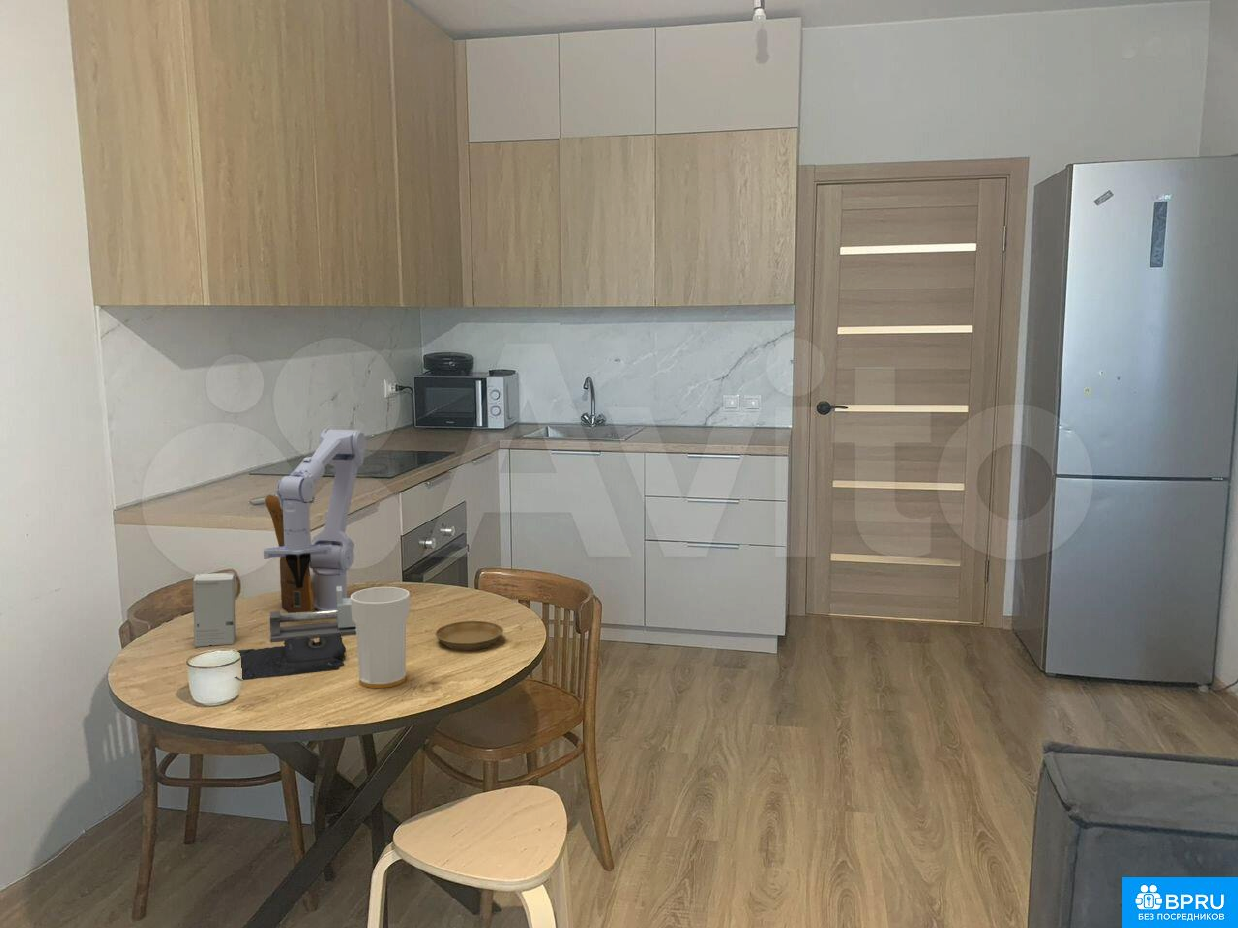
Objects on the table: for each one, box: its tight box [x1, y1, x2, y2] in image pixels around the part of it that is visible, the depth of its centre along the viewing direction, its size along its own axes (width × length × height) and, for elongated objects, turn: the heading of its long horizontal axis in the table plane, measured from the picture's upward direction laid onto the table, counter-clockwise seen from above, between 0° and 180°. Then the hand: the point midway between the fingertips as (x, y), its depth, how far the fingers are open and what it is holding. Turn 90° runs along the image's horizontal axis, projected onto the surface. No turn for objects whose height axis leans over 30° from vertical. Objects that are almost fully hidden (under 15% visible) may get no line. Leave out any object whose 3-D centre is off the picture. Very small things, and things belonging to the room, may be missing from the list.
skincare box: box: [192, 572, 237, 648], centre depth 209 cm, size 8×6×15 cm
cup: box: [350, 586, 411, 689], centre depth 188 cm, size 11×11×17 cm
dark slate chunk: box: [236, 633, 347, 681], centre depth 198 cm, size 15×22×5 cm
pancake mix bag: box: [264, 494, 315, 613], centre depth 230 cm, size 7×19×28 cm, turn 38°
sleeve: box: [336, 586, 356, 628], centre depth 218 cm, size 4×5×8 cm
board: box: [269, 621, 356, 643], centre depth 217 cm, size 26×8×1 cm, turn 108°
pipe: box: [269, 609, 338, 637], centre depth 217 cm, size 26×5×5 cm, turn 108°
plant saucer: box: [434, 620, 504, 651], centre depth 211 cm, size 15×15×3 cm
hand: (299, 586), depth 219 cm, fingers closed
